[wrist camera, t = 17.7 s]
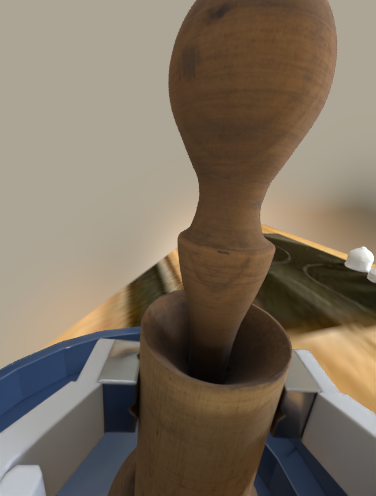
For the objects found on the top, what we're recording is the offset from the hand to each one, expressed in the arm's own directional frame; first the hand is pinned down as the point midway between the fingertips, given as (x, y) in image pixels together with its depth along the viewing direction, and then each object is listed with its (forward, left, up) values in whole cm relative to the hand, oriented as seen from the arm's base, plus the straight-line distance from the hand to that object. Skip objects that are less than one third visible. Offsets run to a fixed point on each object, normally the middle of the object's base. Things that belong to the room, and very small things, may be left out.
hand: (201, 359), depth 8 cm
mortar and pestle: (0, -1, -9) cm, 9 cm away
